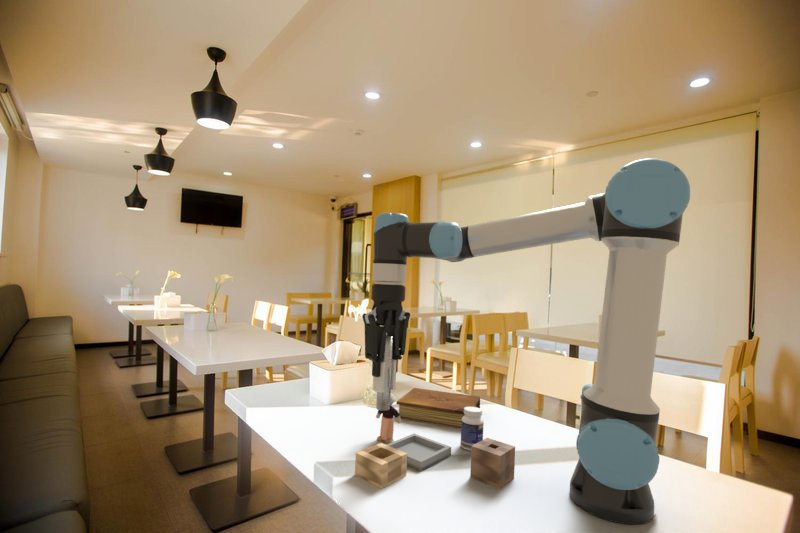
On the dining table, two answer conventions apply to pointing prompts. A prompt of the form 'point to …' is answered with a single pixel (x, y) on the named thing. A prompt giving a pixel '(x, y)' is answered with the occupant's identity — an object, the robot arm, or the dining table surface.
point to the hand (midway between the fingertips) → (384, 389)
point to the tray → (421, 451)
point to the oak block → (381, 465)
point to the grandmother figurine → (388, 422)
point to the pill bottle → (471, 427)
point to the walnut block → (492, 462)
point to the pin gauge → (386, 376)
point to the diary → (435, 407)
